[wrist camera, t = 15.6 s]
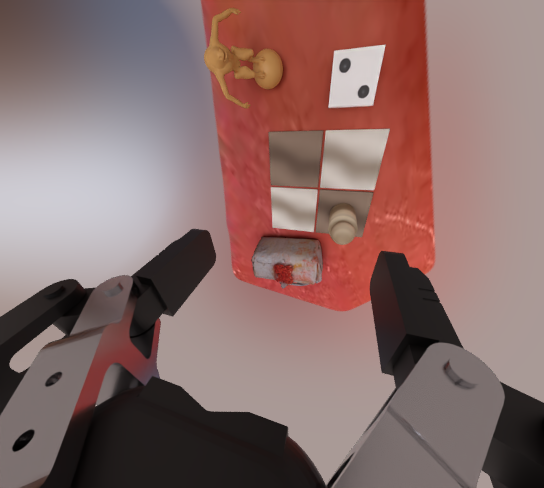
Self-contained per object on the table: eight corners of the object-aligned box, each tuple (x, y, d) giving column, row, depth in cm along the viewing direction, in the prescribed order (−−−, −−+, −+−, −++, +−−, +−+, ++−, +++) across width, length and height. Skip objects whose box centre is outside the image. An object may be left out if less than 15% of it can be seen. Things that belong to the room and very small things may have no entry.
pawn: (331, 202, 34) (328, 224, 28) (357, 203, 33) (361, 227, 27) (328, 224, 37) (325, 249, 30) (353, 226, 36) (355, 252, 29)
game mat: (268, 131, 31) (268, 131, 31) (389, 128, 27) (389, 128, 27) (272, 227, 41) (272, 227, 41) (361, 236, 36) (361, 237, 36)
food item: (324, 234, 39) (320, 265, 31) (323, 265, 43) (319, 299, 35) (261, 232, 43) (243, 258, 35) (266, 260, 47) (251, 289, 39)
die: (335, 60, 25) (334, 50, 21) (378, 56, 23) (385, 44, 19) (330, 108, 28) (328, 107, 24) (368, 106, 26) (373, 105, 22)
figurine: (286, 107, 29) (260, 104, 19) (249, 110, 30) (208, 109, 21) (284, 26, 24) (248, -29, 15) (241, 36, 26) (183, -9, 16)
